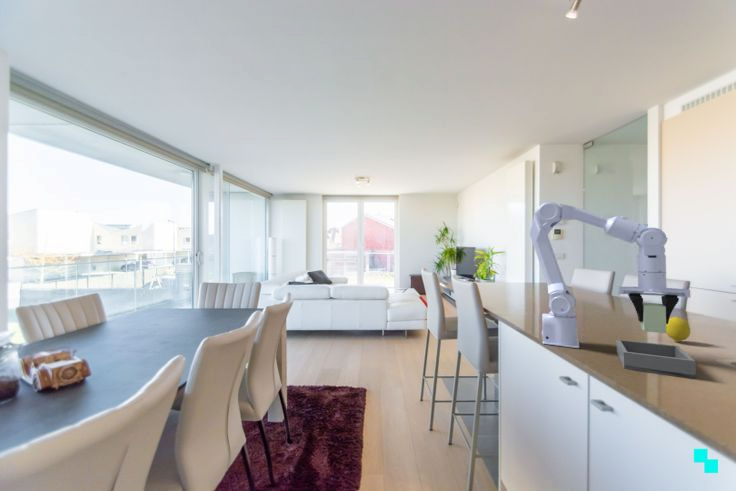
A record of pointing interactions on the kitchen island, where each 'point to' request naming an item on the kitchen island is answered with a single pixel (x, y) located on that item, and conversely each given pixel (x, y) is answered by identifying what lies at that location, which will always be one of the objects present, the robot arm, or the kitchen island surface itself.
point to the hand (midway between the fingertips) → (652, 322)
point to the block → (654, 318)
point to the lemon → (677, 329)
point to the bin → (655, 358)
